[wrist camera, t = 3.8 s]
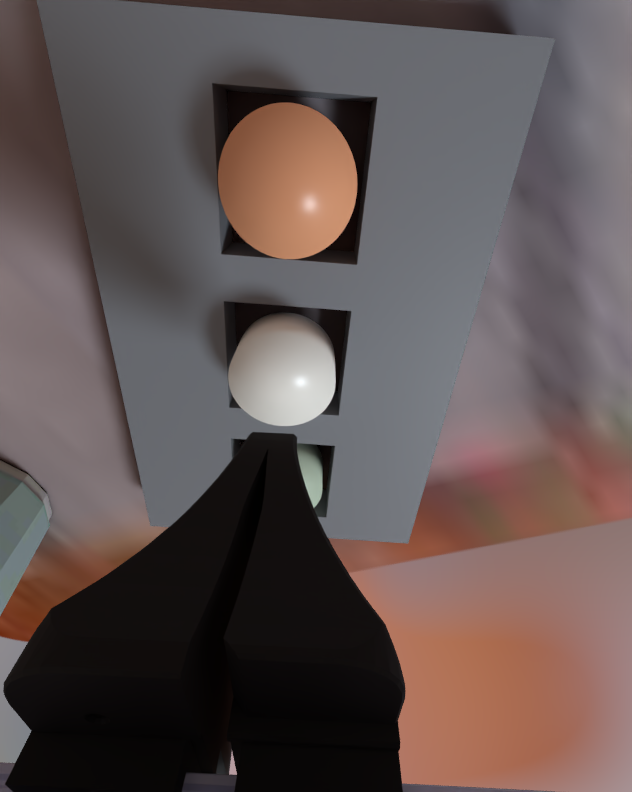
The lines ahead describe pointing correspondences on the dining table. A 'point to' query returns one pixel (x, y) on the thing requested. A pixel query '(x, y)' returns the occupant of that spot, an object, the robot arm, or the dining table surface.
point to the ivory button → (283, 370)
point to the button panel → (288, 278)
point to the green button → (311, 470)
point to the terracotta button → (287, 180)
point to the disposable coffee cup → (19, 526)
